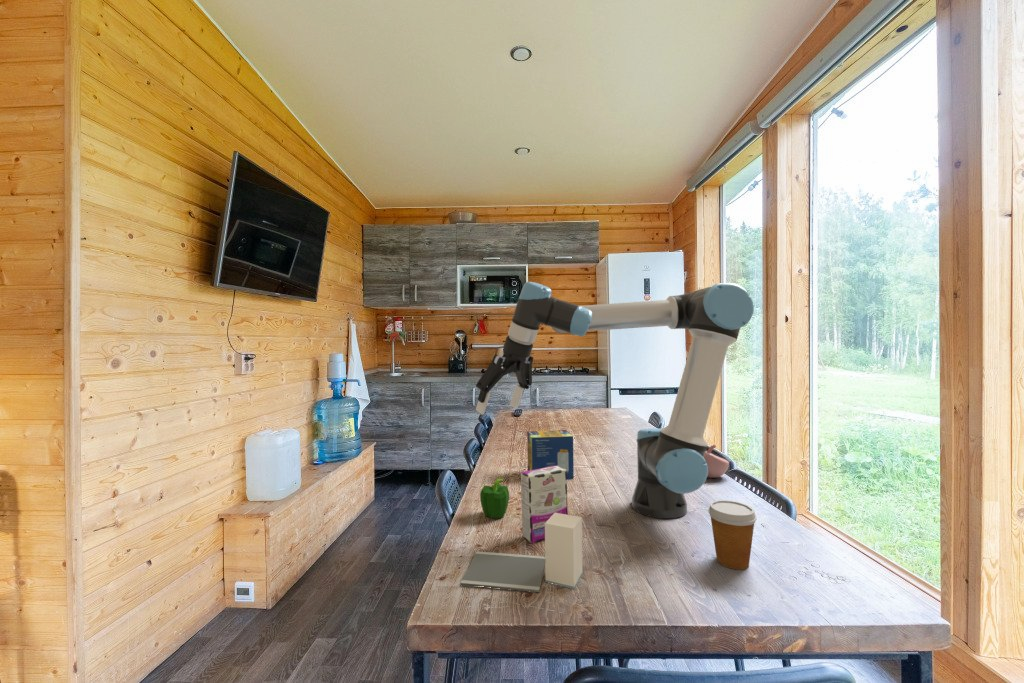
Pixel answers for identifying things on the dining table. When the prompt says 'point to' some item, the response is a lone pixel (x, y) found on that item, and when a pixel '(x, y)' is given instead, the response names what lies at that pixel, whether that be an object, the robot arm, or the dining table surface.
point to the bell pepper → (494, 500)
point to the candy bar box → (542, 499)
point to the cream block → (563, 550)
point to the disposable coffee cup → (732, 532)
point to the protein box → (550, 450)
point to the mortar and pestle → (715, 464)
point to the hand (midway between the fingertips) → (497, 409)
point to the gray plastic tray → (505, 571)
